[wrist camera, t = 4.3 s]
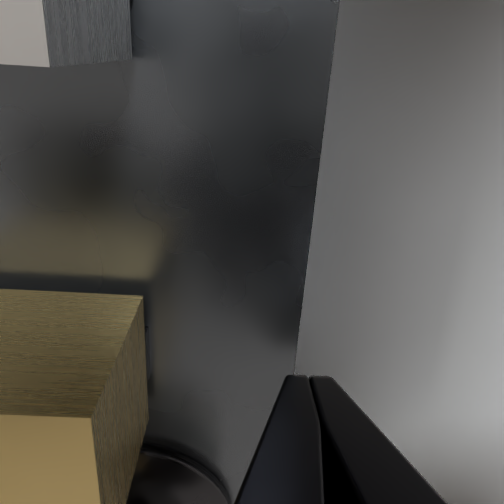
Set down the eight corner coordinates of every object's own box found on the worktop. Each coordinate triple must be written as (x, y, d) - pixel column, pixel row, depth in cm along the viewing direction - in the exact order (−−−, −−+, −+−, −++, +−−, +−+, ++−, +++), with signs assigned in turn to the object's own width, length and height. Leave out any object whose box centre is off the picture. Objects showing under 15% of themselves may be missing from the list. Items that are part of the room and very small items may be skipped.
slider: (142, 296, 8) (90, 418, 6) (148, 418, 9) (107, 568, 7) (-79, 284, 8) (-246, 404, 5) (-44, 410, 9) (-165, 560, 7)
